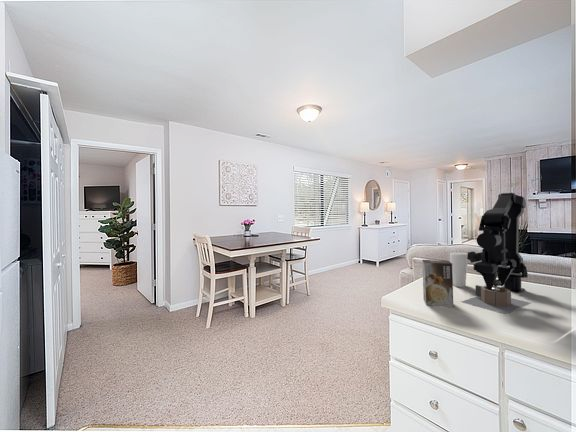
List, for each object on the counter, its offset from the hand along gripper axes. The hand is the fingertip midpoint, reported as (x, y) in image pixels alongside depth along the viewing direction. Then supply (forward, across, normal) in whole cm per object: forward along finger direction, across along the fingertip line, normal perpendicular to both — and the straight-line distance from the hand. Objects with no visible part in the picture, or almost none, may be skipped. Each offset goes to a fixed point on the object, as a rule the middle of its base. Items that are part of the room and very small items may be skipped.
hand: (495, 287), depth 97 cm
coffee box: (+6, +18, -11) cm, 22 cm away
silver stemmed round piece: (+5, 0, 0) cm, 5 cm away
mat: (+6, 0, 0) cm, 6 cm away
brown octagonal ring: (+5, 0, -1) cm, 6 cm away
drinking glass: (+6, -11, -19) cm, 23 cm away
